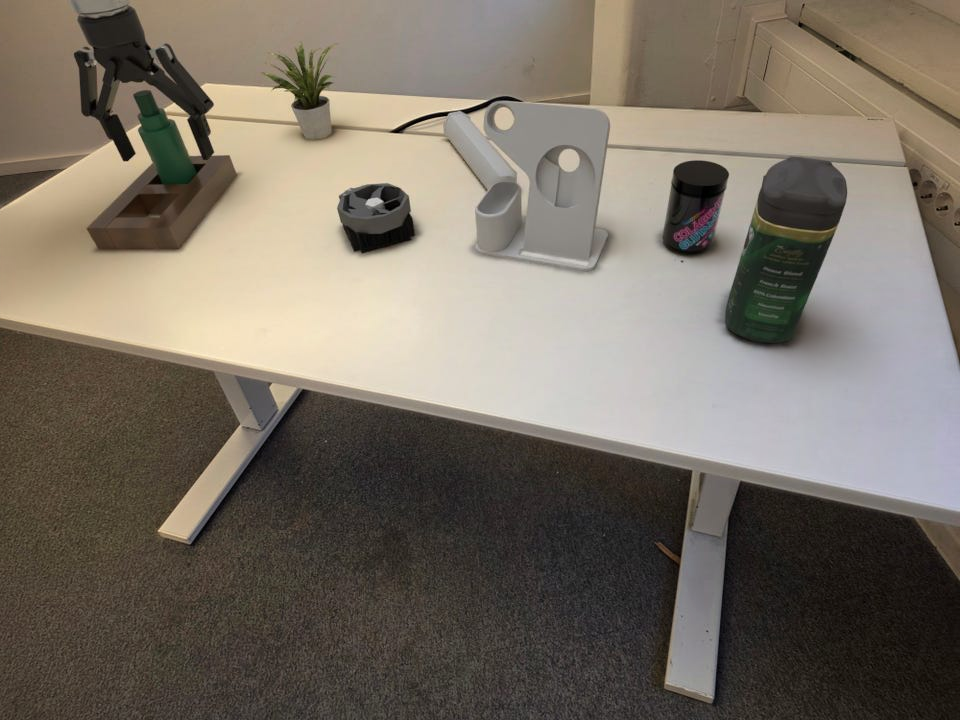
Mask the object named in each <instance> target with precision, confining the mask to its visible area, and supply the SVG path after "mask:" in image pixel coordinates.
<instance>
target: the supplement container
mask: <svg viewBox="0 0 960 720" xmlns="http://www.w3.org/2000/svg"><path fill="white" fill-rule="evenodd" d="M729 177H730V173H729V170H728V169H727V168H725V166H723V165H721V164H719V163H717V162H714V161H709V160H699V159H698V160H696V159H694V160H693V159H692V160H685V161H683V162H680V163H679V164H677V165H676V166H674V168H673V171H672V176H671V181H670V190H669V196H668V202H667V207H666V212H665V213H666V214H665V219H664V223H663V230H662V236H661V237H662V241H663V244H664V245H665V247H666V248H667V249H669V250H670V251H672V252H674V253H676V254H679V255H686V256H695V255H699V254H702V253H705V252H707V251H708V250H709V249H710V248H711V246H712V245H713V243H714V239H715V234H716V230H717V226H718V223H719V218H720V214H721V210H722V206H723V201H724V197H725V193H726V191H727V190H726V189H727V186H728V181H729Z"/></svg>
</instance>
